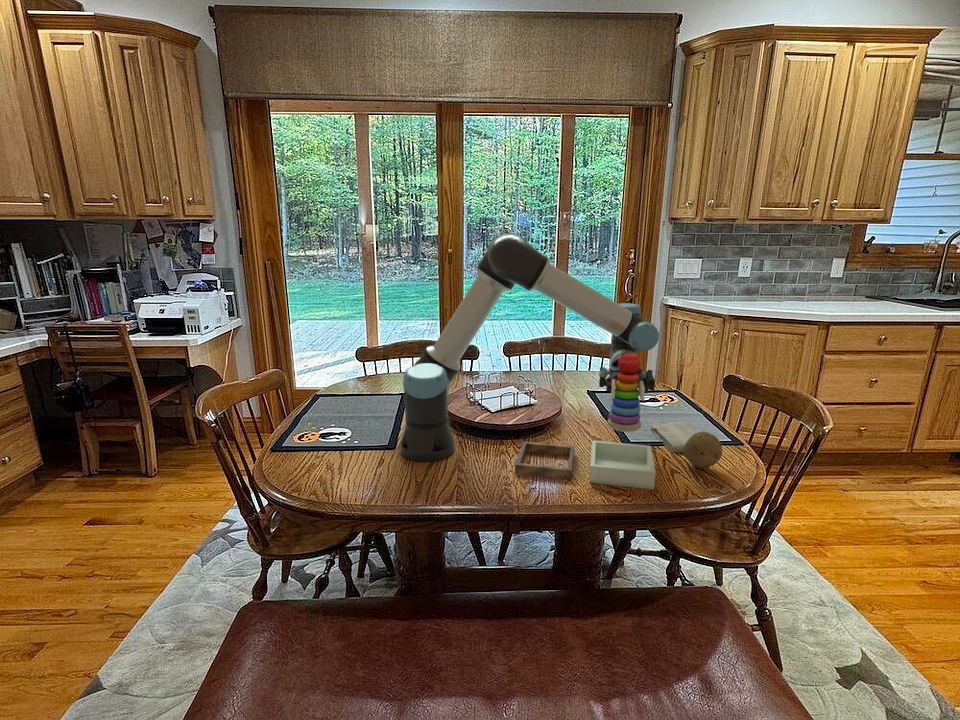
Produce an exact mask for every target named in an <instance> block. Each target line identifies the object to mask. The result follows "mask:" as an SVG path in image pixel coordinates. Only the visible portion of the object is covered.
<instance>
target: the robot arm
mask: <svg viewBox="0 0 960 720" xmlns="http://www.w3.org/2000/svg"><path fill="white" fill-rule="evenodd" d="M476 272H477V276H476V278H475V279H474V281H473V282H472V284H471V286H470V287H469V289H468V291H467V292H466V294H465V296H464V297H463V299H462V300H461V302H460V303H459V305H458V306H457V308H456V310H455V311H454V312H453V314H452V316H451V318H450V319H449V321H448V322H447V324H446V325H445V327H444V329H443V330H442V332H441V334H440V335H439V337H438V338H437V340H436V342H435V343H434V345H429V346H427V347H426V348H425V349H424V351H423V352H422V354H421V356H420V358H418V360H416V362H415V363H414V364H413V366H410V367H408V368H407V369H406V370H405V372H404V374H403V379H402V385H403V394H404V398H403V399H404V417H405V418H404V420H405V427H404V428H403V429H404V430H403V433H402V436H401V441H400V443H399V444H400V446H399V447H400V448H399V449H400V454H401V456H403V457H404V458H405V457H406V459H407V458H408V460H410V459H411V460H410V461H415V462H421V463H422V462H436V461H441V460H442V459H443V460H444V459H446V458H448V457H450V456H452V455H453V454H454V452H455V450H456V445H455V444H456V442H455V441H456V440H455V438H454V436H453V432H452V429H451V427H450V424H449V407H448V406H449V405H448V400H449V399H448V394H449V388H450V385H451V383H452V381H453V380H454V378H455V377H456V375H457V374H458V373H459V371H460V370H461V364H460V360H461V359H462V356H464V353H465V352H466V350H467V349H468V348H469V346H470V345H471V343H472V341H473V340H474V338H475V337H476V335H477V334H478V332H479V330H480V329H481V327H482V326H483V325H484V323H485V321H486V320H487V318H488V316H489V315H490V313H492V310H493V309H494V308H495V306H496V305H497V303H498V301H499V300H500V298H501V296H502V295H503V293H505V292H508V291H509V292H510V291H511V290H512V289H513V288H514V286H515V285H517V286H519V287H521V288H523V289H525V290H527V291H528V292H531V291H536V292H539V293H540V294H542V295H544V296H545V297H546V298H549V299H550V300H553V302H556V303H557V304H558V305H561V306H563V307H564V308H566V309H568V310H569V311H571V312H573V313H575V314H576V315H578V316H579V317H582V318H583V319H584V320H587V321H589V322H590V323H592V324H594V325H595V326H598V327H599V328H601V329H602V330H604V331H607V332H608V334H609V333H610V334H611V346H610V351H609V358H610V367H609V369H608V368H606V367H604V366H600V367H599V375H598V377H599V381H598V382H599V383H598V387H600V388H605V389H606V390H605V391H606V392H611V393H610V395H611V397H610V399H613V398H615V388H616V386H615V383H616V381H617V380H618V378H617V375H618V373H619V372H622V371H621V370H620V369H619V366H618V361H619V358H620V357H621V356H622V355H624V354H626V353H632V354H634V355H636V356H637V357H638V352H647V351H651V350H652V349H654V348H655V347H656V346H657V344H658V342H659V339H660V332H659V330H658V328H657V327H656V326H655V325H654V323H652V322H650V321H648V320H646V319H644V318H643V317H641V316H642V309H641V308H642V307H641V305H639V304H636V303H628V302H626V303H625V302H623V303H618V302H615V301H614V300H613V299H610V298H609V297H607V296H606V295H604V294H602V293H600V292H599V291H597V290H595V289H593V288H592V287H590V286H588V285H587V284H585V283H584V282H582V281H580V280H578V279H576V278H575V277H573V276H571V275H570V274H568V273H566V272H565V271H563V270H561V269H560V268H558V267H556V266H555V265H553V264H551V262H550V258H549V257H548V256H546V255H544V254H543V253H541V252H539V251H538V250H537V249H536V248H534V247H533V245H531V244H530V243H529V242H528V241H527V240H525V239H524V238H523V237H521V236H520V235H518V234H516V233H512V232H506V233H501V234H498V235H497V236H495V237H494V238H493V239H492V240H491V241H490V243H488V246H487V249H486V251H485V253H484V255H483V256H482V258H481V259H480V261H479V263H478V264H477V266H476ZM640 367H641V366H640ZM640 367H639V369H638V370H637V371H636V372H635V373H637V374H638V376H639V379H638V381H636V382H637V383H638V384H639V387H638V390H639V399H640V401H645V394H649V391H651V392H653V391H655V388H656V387H655V386H656V379H655V378H654V375H653V370H652V369H648V370H645V371H643V369H641V368H640ZM608 375H609V376H608Z"/></svg>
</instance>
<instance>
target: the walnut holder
mask: <svg viewBox="0 0 960 720" xmlns="http://www.w3.org/2000/svg"><path fill="white" fill-rule="evenodd" d="M575 449H576V448H575V446H574V445H573V446H572V445H565V444H564V445H563V444H552V443H541V442H532V441H523V442H522V445H521V448H520V451H519V452H518V456H517V458H516V460H515V461H516V462H515V464H514V474H516V473H519V474H518V475H525V474H526V475H527V476H533V477H544V478H553V479H563V480H572V475H573V473H572V472H573V466H574V461H575ZM527 453H535V454H536V453H537V454H545V455H546V454H547V455H554V456H555V455H556V456H564V455H565V457H568V462H567V463H568V464H567V467H561V466H550V465H542V464H532V463H531V464H530V463H523V462H524V460H525V457H526V455H527ZM526 475H525V476H526Z"/></svg>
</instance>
